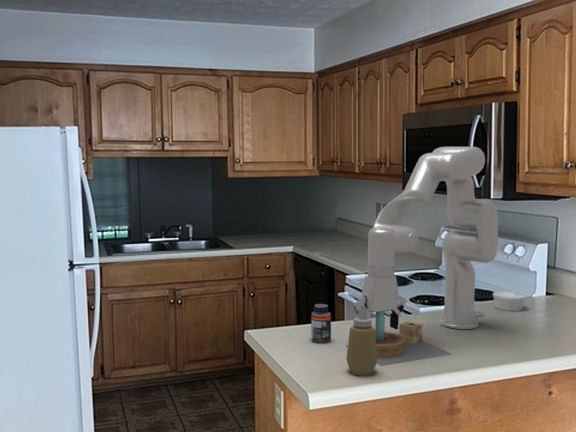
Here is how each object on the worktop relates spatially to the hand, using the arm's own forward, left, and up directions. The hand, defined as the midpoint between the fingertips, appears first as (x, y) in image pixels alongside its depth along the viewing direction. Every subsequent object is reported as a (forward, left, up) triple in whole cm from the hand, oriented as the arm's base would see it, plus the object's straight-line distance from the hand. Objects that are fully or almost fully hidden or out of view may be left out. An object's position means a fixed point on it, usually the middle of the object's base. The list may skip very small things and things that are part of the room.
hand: (379, 330), depth 179 cm
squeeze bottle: (+14, +13, -7) cm, 20 cm away
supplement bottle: (+11, -15, -7) cm, 20 cm away
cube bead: (-14, -4, -6) cm, 16 cm away
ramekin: (-72, -23, -7) cm, 76 cm away
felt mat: (-5, +2, -6) cm, 8 cm away
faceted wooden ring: (0, 0, -6) cm, 6 cm away
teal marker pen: (0, 0, -6) cm, 6 cm away
